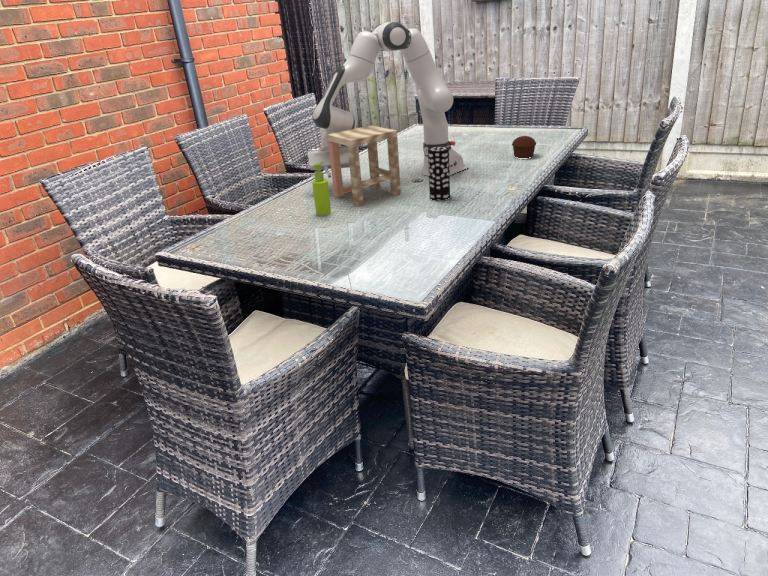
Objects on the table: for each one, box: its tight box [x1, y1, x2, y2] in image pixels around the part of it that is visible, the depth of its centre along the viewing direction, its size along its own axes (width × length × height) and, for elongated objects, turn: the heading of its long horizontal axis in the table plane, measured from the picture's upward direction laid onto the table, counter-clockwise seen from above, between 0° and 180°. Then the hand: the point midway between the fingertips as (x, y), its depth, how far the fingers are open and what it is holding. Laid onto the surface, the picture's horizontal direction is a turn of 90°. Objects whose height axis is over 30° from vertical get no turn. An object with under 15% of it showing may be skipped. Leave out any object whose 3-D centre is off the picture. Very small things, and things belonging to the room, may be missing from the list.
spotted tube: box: [428, 146, 451, 201], centre depth 234 cm, size 8×8×20 cm
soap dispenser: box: [311, 162, 332, 217], centre depth 228 cm, size 6×7×20 cm
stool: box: [327, 125, 402, 207], centre depth 242 cm, size 22×18×26 cm
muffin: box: [511, 135, 537, 158], centre depth 284 cm, size 12×11×10 cm
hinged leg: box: [328, 142, 352, 199], centre depth 246 cm, size 13×3×23 cm, turn 126°
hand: (333, 176), depth 248 cm, fingers closed
